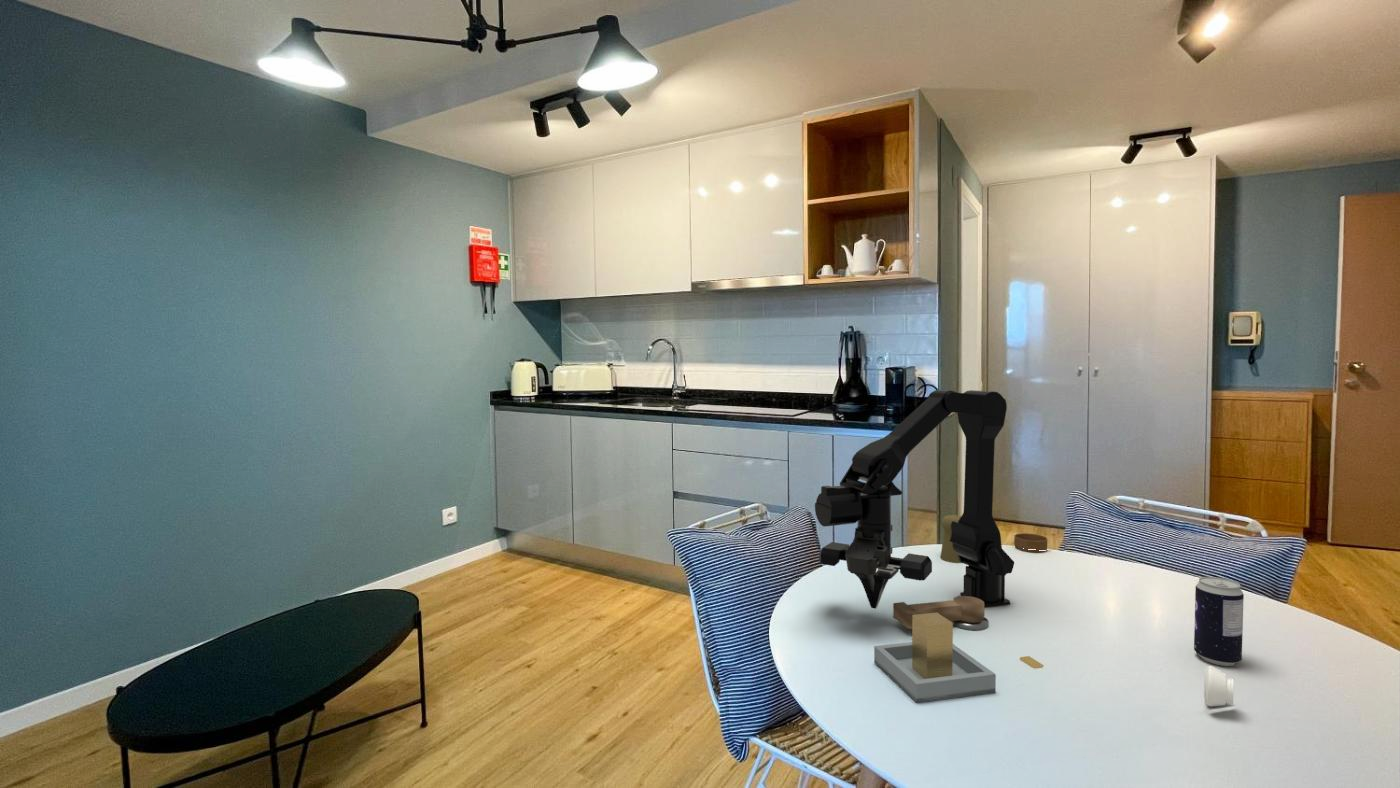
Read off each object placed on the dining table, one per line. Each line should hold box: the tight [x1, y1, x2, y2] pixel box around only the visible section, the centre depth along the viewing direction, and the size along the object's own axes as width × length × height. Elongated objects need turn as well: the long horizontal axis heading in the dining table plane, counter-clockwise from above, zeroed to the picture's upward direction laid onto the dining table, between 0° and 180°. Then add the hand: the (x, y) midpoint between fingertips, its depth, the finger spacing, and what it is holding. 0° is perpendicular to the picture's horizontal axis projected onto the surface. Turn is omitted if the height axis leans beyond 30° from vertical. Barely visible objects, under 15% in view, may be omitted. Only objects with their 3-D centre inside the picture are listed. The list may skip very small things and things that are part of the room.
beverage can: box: [1193, 576, 1245, 667], centre depth 98 cm, size 6×6×12 cm
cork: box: [940, 514, 962, 564], centre depth 146 cm, size 6×6×11 cm
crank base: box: [951, 616, 1044, 669], centre depth 106 cm, size 6×20×1 cm, turn 12°
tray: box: [873, 641, 997, 704], centre depth 94 cm, size 12×12×3 cm
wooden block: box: [911, 613, 954, 679], centre depth 94 cm, size 4×4×8 cm
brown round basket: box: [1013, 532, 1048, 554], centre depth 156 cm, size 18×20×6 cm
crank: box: [892, 595, 985, 630], centre depth 112 cm, size 16×5×3 cm, turn 102°
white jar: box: [1203, 665, 1235, 707], centre depth 85 cm, size 5×3×5 cm, turn 141°
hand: (874, 607), depth 115 cm, fingers closed
